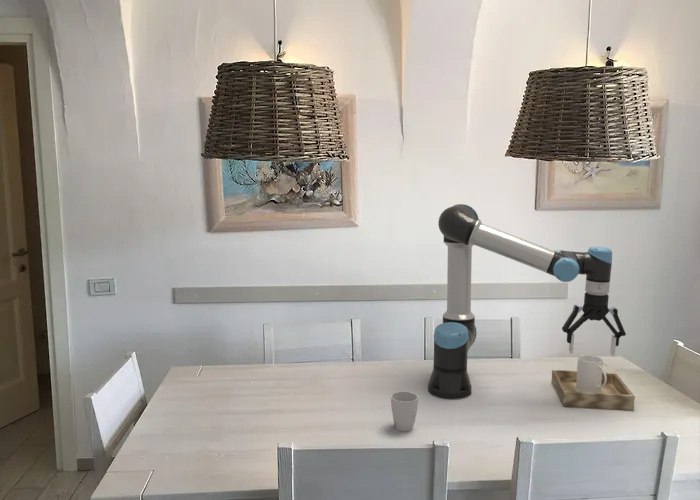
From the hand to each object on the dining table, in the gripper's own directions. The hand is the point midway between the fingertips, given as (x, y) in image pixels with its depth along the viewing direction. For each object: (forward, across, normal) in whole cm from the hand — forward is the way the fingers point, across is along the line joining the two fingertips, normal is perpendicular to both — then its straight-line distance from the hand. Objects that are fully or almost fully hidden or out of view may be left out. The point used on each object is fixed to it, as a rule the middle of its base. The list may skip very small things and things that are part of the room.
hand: (591, 353), depth 207 cm
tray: (+15, +1, 0) cm, 15 cm away
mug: (+14, +1, 0) cm, 14 cm away
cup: (+16, -61, -35) cm, 73 cm away
